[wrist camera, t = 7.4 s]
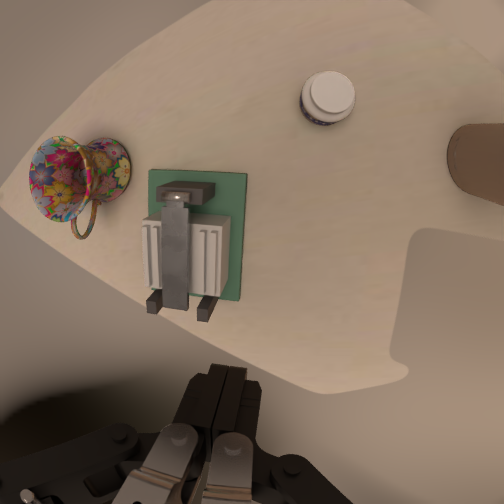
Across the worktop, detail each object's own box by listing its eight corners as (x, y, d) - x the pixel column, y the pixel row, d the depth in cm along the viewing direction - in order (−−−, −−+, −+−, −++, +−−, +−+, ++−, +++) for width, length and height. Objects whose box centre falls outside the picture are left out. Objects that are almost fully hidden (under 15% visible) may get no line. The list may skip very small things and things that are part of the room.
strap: (191, 192, 31) (188, 193, 30) (189, 307, 34) (186, 311, 33) (165, 190, 31) (161, 191, 30) (165, 303, 35) (162, 307, 34)
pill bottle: (293, 116, 34) (294, 107, 25) (307, 76, 32) (312, 55, 24) (337, 132, 34) (351, 128, 25) (350, 92, 32) (368, 77, 24)
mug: (75, 143, 37) (24, 148, 27) (131, 127, 36) (83, 125, 26) (89, 226, 41) (42, 249, 31) (144, 218, 40) (102, 242, 30)
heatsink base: (247, 173, 36) (236, 180, 29) (239, 298, 42) (229, 330, 34) (151, 169, 37) (120, 176, 30) (154, 286, 43) (129, 314, 35)
